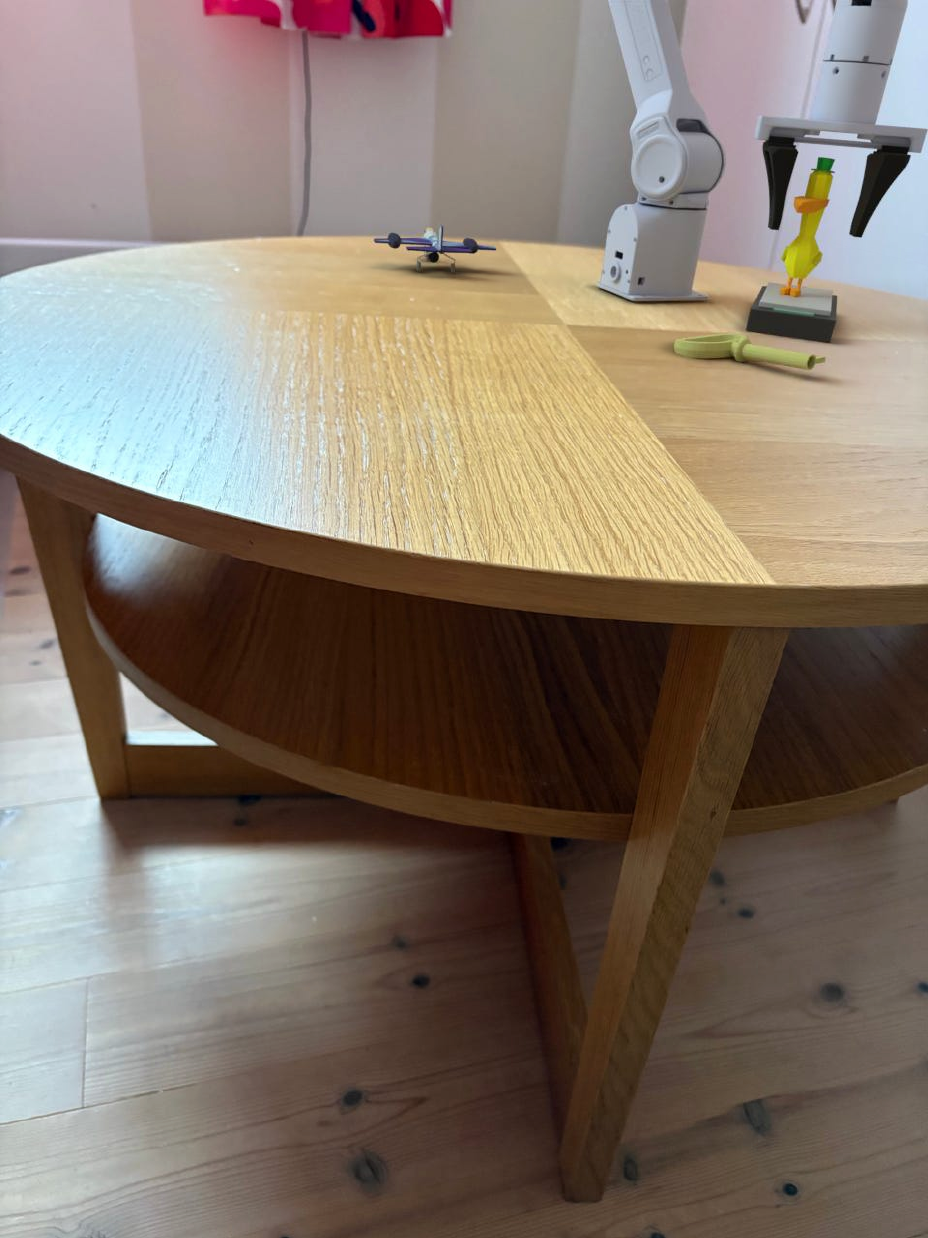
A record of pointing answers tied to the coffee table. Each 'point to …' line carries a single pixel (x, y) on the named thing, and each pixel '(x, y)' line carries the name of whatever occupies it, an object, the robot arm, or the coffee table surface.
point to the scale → (794, 313)
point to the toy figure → (808, 227)
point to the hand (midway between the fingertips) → (814, 232)
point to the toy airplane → (434, 246)
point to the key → (742, 351)
